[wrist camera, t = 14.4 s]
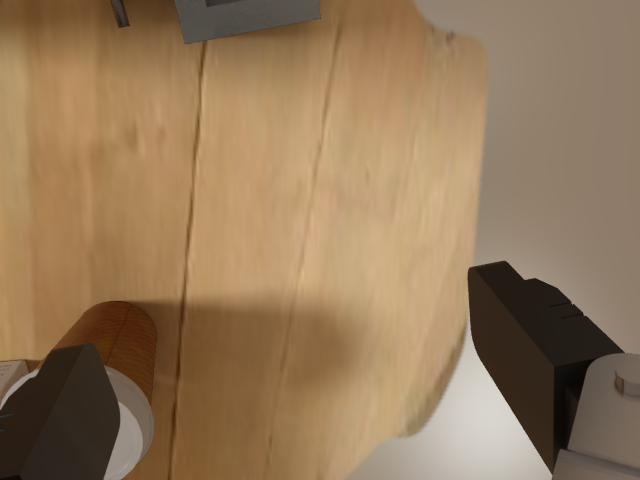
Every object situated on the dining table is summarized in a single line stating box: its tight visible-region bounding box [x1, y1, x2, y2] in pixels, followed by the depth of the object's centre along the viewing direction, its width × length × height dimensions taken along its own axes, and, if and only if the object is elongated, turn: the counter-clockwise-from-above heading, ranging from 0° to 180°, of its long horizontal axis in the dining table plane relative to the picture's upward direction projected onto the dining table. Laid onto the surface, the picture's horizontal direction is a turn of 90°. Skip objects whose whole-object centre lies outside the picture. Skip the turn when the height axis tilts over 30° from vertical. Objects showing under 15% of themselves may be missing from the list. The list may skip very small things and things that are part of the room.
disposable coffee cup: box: [0, 301, 157, 480], centre depth 40 cm, size 10×10×12 cm
